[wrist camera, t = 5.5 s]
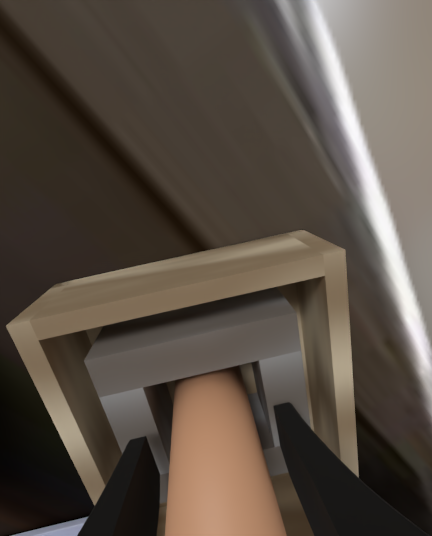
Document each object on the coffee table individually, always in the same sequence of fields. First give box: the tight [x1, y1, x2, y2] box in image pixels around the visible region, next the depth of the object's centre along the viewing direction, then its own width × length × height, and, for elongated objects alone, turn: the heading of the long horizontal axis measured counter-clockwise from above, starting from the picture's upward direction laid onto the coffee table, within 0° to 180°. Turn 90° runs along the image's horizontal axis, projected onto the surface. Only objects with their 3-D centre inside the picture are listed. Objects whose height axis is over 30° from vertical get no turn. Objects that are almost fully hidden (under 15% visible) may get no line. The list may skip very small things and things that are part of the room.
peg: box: [165, 365, 287, 536], centre depth 11 cm, size 3×3×9 cm
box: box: [6, 230, 359, 536], centre depth 15 cm, size 16×12×4 cm
